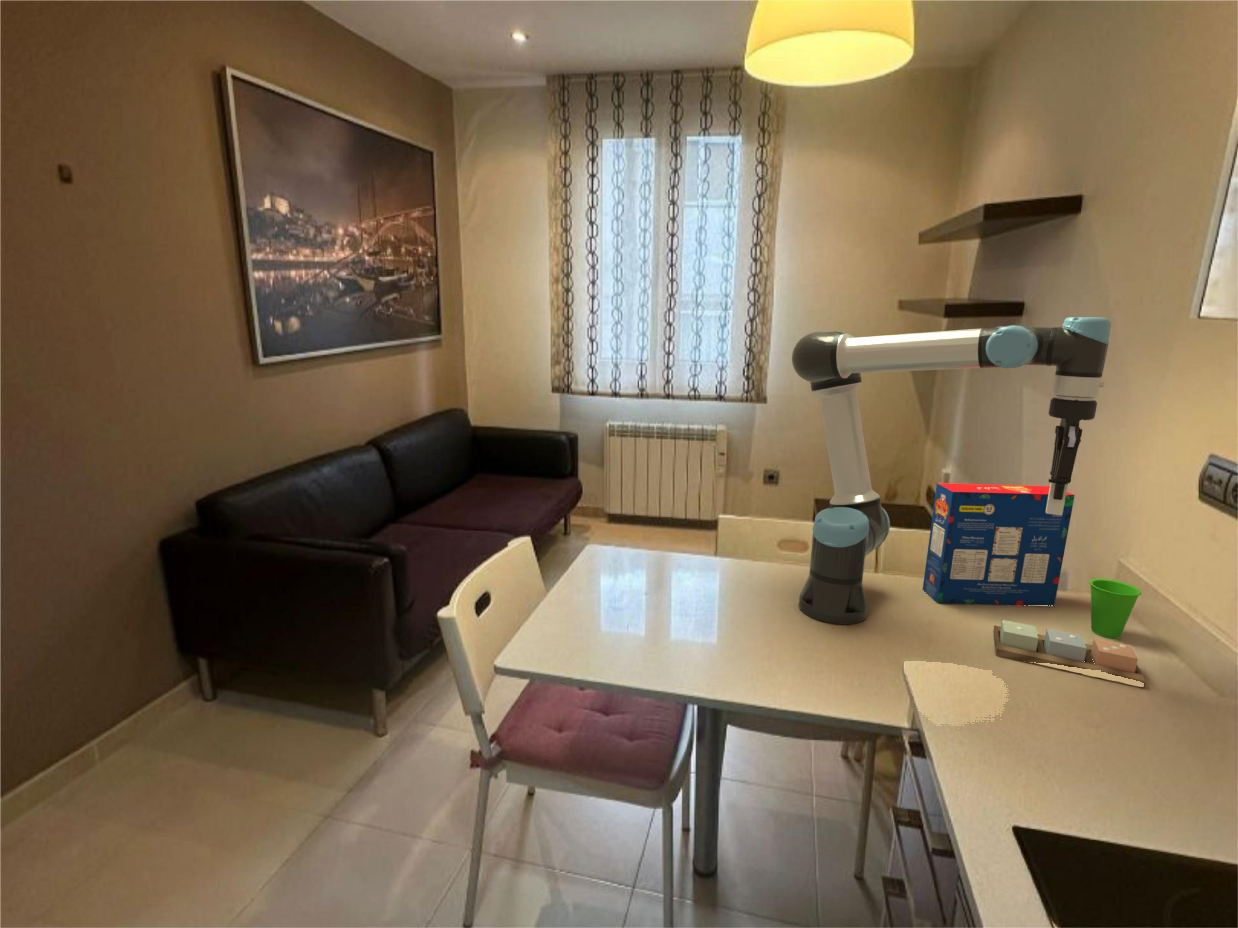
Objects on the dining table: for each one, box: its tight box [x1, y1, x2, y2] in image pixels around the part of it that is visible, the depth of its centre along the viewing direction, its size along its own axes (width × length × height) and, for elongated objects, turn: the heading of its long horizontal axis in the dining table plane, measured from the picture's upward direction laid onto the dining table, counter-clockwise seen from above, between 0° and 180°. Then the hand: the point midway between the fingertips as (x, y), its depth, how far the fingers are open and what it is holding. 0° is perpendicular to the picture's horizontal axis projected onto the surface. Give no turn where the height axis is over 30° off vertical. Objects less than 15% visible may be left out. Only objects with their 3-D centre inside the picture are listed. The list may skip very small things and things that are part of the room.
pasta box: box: [922, 482, 1075, 607], centre depth 155 cm, size 28×8×28 cm, turn 89°
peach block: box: [1090, 637, 1139, 673], centre depth 126 cm, size 6×6×4 cm
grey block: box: [1044, 628, 1087, 662], centre depth 129 cm, size 6×6×4 cm
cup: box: [1088, 578, 1142, 639], centre depth 140 cm, size 9×9×11 cm
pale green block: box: [999, 619, 1038, 652], centre depth 133 cm, size 6×6×4 cm
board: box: [993, 624, 1146, 685], centre depth 129 cm, size 24×12×2 cm, turn 62°
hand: (1053, 513), depth 130 cm, fingers closed
